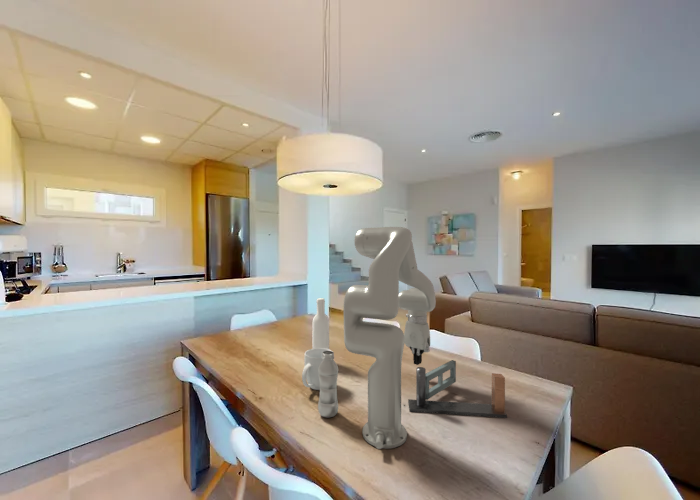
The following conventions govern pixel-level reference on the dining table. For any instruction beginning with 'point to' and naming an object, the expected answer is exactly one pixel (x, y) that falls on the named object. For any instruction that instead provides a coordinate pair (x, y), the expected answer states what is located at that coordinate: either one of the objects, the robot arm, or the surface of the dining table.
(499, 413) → the gate frame
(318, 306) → the bottle
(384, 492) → the dining table surface
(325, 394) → the plastic bottle
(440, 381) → the gate
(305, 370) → the mug
